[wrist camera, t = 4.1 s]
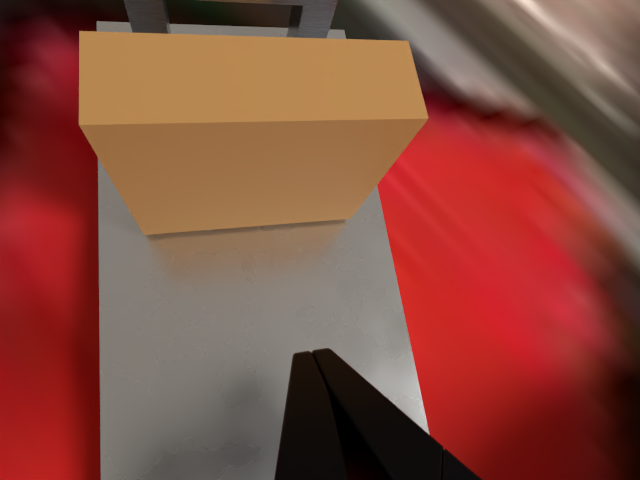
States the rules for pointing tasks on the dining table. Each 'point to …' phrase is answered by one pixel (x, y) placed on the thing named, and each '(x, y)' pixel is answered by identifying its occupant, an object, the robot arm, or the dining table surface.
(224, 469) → the baseplate
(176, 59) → the tan chunky block
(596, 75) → the dining table surface
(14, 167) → the dining table surface
